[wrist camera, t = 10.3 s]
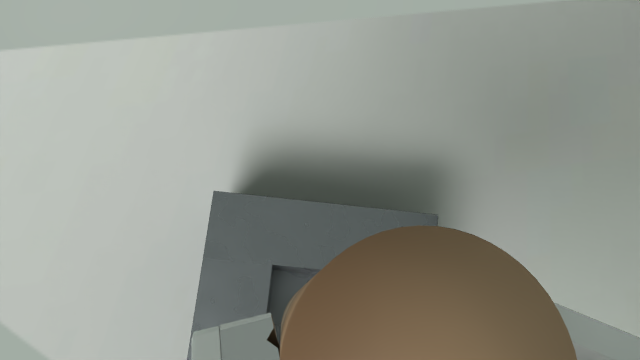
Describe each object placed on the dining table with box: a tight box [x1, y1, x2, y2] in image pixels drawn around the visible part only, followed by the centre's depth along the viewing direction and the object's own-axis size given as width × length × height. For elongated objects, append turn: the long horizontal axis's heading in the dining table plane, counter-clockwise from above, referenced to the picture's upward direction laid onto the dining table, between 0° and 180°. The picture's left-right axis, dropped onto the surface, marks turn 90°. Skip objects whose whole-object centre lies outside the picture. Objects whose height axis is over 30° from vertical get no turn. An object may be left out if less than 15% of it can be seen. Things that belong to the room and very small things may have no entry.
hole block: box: [187, 191, 438, 360], centre depth 25 cm, size 12×12×4 cm
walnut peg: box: [280, 225, 577, 360], centre depth 10 cm, size 3×3×10 cm
